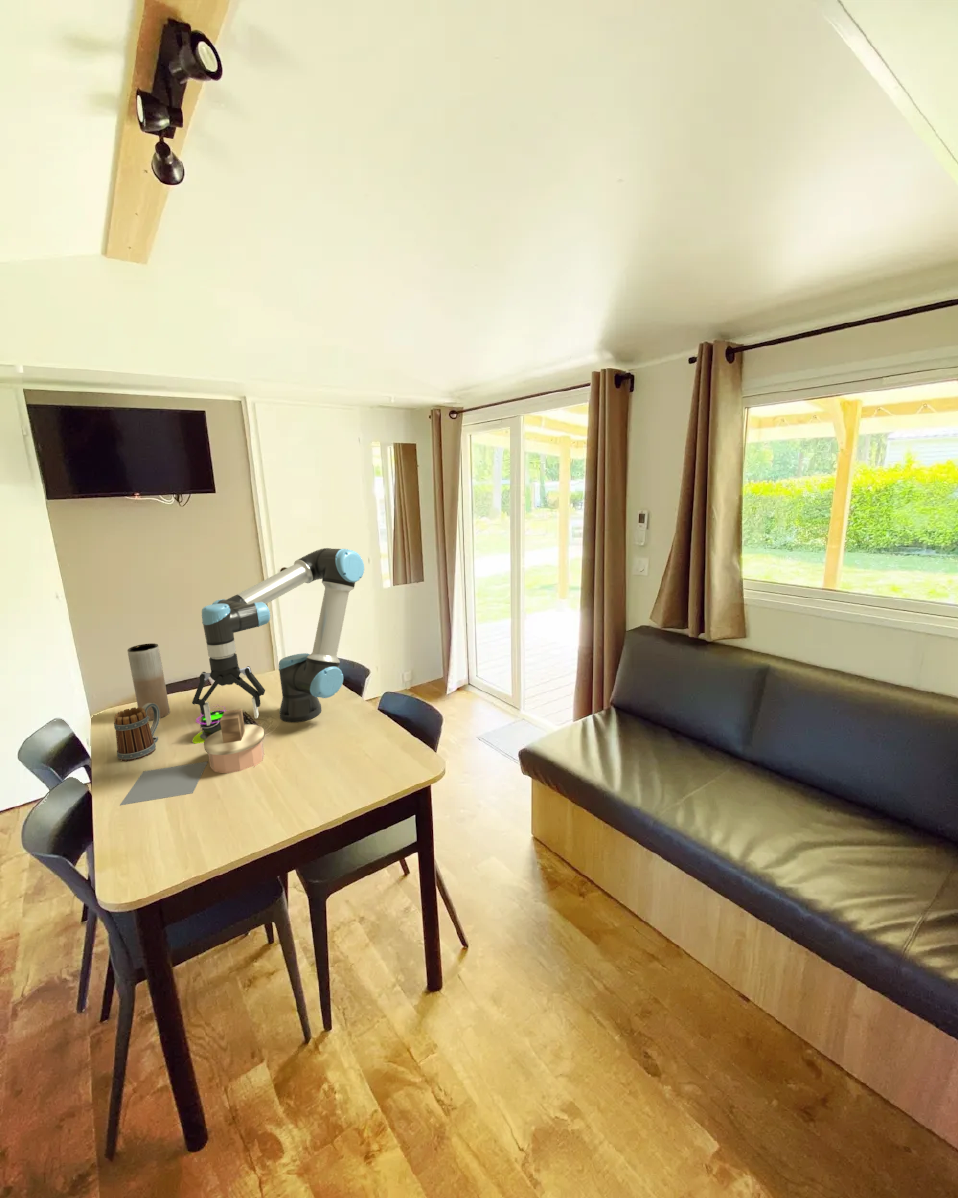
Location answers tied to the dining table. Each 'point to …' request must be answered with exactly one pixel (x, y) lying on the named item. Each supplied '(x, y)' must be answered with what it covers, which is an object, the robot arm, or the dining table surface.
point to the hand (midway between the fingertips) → (233, 720)
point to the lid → (233, 735)
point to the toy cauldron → (210, 728)
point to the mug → (136, 732)
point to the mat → (165, 783)
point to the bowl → (237, 760)
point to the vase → (148, 678)
